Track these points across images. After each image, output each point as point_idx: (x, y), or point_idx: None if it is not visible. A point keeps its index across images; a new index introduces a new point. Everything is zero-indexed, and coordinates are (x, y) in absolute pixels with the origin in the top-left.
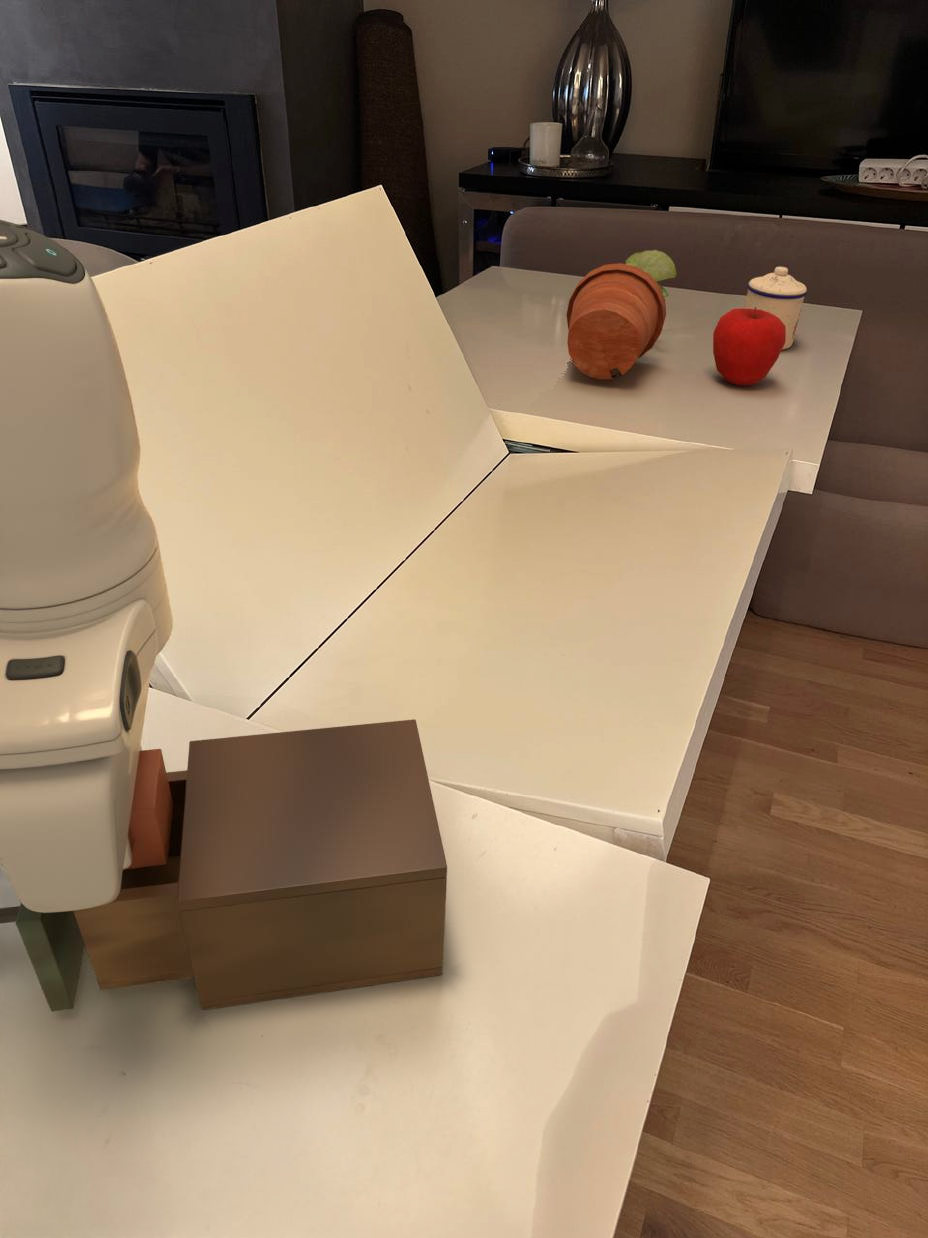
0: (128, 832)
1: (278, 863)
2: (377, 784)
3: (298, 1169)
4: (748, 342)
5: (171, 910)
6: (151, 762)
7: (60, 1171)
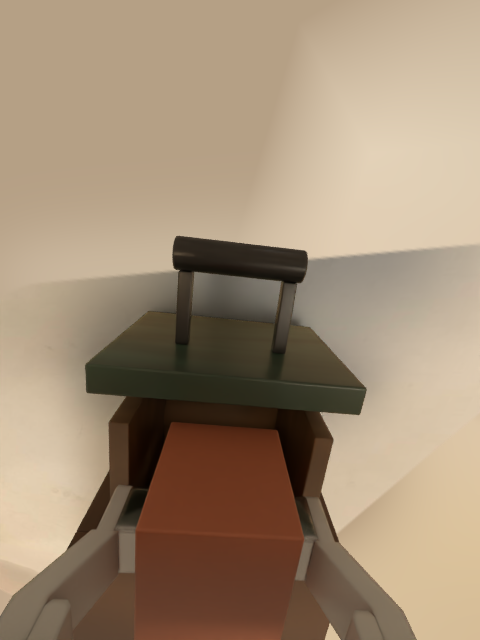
0: (125, 572)
1: (108, 634)
2: None
3: (19, 455)
4: None
5: None
6: (247, 637)
7: (30, 317)
